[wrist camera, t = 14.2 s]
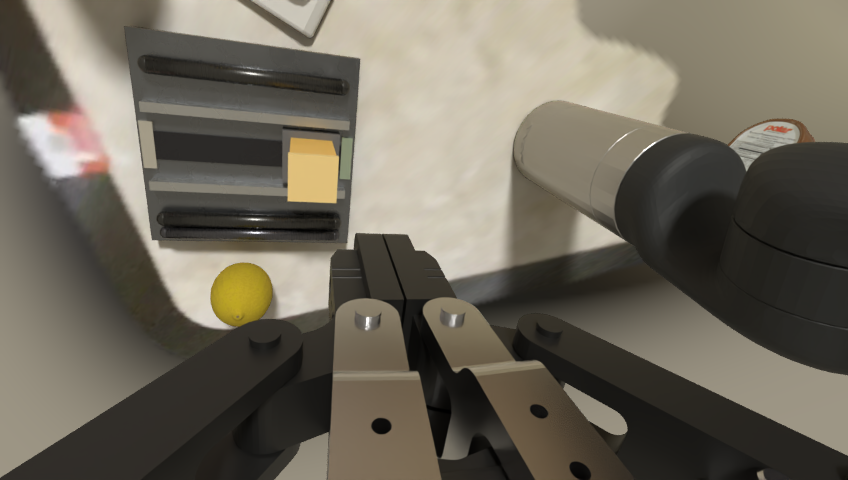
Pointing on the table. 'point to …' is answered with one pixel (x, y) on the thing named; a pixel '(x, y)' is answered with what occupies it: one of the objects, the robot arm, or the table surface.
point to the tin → (768, 138)
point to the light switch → (297, 13)
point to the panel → (236, 135)
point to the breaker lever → (310, 165)
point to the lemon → (241, 294)
